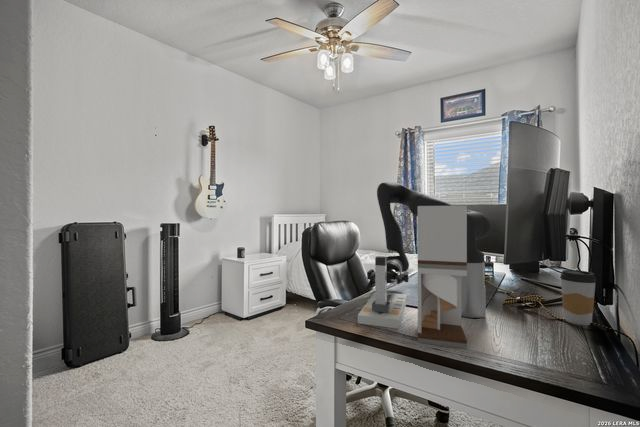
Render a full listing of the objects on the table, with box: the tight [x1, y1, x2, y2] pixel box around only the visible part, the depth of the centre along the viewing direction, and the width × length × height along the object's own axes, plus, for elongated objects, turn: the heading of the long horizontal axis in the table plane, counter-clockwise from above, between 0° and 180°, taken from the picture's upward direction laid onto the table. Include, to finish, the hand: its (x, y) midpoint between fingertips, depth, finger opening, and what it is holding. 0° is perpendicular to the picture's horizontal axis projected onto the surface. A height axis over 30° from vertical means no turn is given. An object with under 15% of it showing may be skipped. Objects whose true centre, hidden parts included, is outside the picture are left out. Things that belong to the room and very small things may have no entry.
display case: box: [417, 205, 468, 349], centre depth 81 cm, size 11×11×35 cm
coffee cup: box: [560, 269, 597, 326], centre depth 91 cm, size 8×8×15 cm
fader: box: [372, 255, 390, 312], centre depth 94 cm, size 5×4×16 cm
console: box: [357, 291, 408, 330], centre depth 102 cm, size 12×28×3 cm, turn 159°
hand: (385, 280), depth 102 cm, fingers open, 8 cm apart
